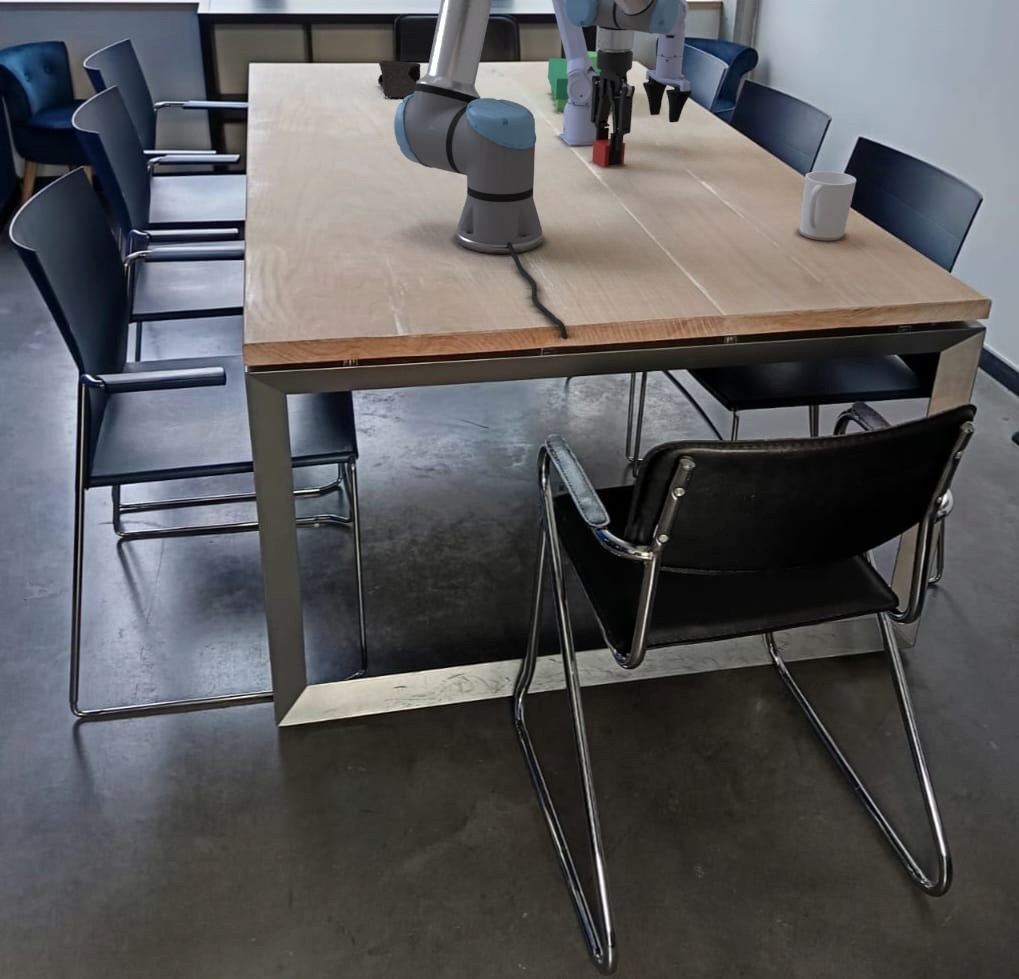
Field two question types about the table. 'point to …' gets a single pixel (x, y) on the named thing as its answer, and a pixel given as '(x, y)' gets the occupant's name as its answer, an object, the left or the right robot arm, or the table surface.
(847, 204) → the mug
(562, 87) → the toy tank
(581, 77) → the right robot arm
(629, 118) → the left robot arm
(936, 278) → the table surface
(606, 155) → the block
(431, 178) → the table surface
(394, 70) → the axe head
